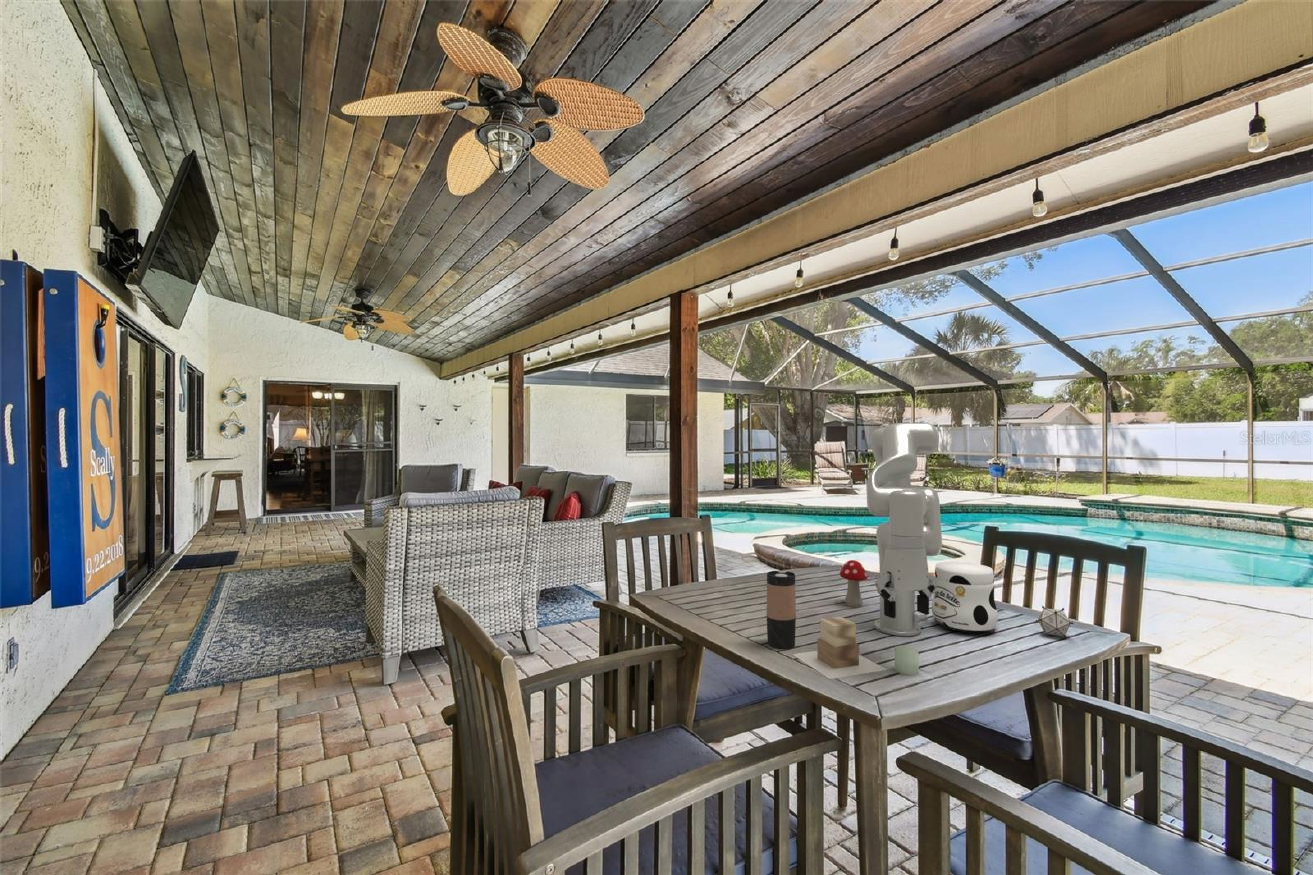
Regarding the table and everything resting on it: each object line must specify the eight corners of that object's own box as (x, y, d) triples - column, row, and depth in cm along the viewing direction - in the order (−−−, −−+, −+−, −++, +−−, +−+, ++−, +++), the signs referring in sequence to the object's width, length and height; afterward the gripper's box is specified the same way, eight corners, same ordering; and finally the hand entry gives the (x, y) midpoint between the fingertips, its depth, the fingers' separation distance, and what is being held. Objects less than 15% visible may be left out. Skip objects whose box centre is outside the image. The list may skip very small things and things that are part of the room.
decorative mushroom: (873, 608, 190) (873, 563, 190) (849, 610, 188) (849, 564, 188) (857, 600, 199) (857, 556, 199) (834, 601, 198) (834, 557, 198)
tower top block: (840, 636, 146) (840, 616, 146) (855, 644, 140) (855, 623, 140) (820, 638, 144) (820, 618, 144) (834, 647, 138) (834, 626, 138)
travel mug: (779, 655, 149) (779, 578, 149) (760, 646, 156) (760, 572, 156) (801, 650, 152) (801, 575, 152) (783, 641, 159) (782, 569, 159)
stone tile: (844, 650, 152) (844, 646, 152) (886, 673, 137) (886, 669, 137) (792, 658, 147) (792, 654, 147) (829, 683, 132) (829, 678, 132)
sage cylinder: (907, 669, 140) (907, 644, 140) (923, 678, 135) (923, 652, 135) (890, 672, 138) (889, 647, 138) (905, 681, 133) (905, 655, 133)
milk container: (923, 628, 170) (923, 567, 170) (941, 614, 183) (941, 558, 183) (990, 642, 158) (990, 576, 158) (1003, 626, 171) (1003, 566, 171)
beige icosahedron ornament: (1057, 647, 164) (1077, 619, 164) (1064, 646, 157) (1084, 616, 157) (1025, 627, 169) (1044, 599, 169) (1030, 624, 161) (1050, 595, 162)
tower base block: (841, 654, 147) (840, 635, 147) (858, 665, 140) (858, 644, 140) (817, 658, 144) (817, 638, 144) (834, 668, 138) (834, 648, 138)
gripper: (923, 538, 143) (923, 607, 142) (865, 541, 137) (865, 613, 137) (947, 543, 136) (947, 616, 135) (887, 546, 130) (887, 623, 130)
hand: (906, 615), depth 136 cm, fingers open, 9 cm apart
